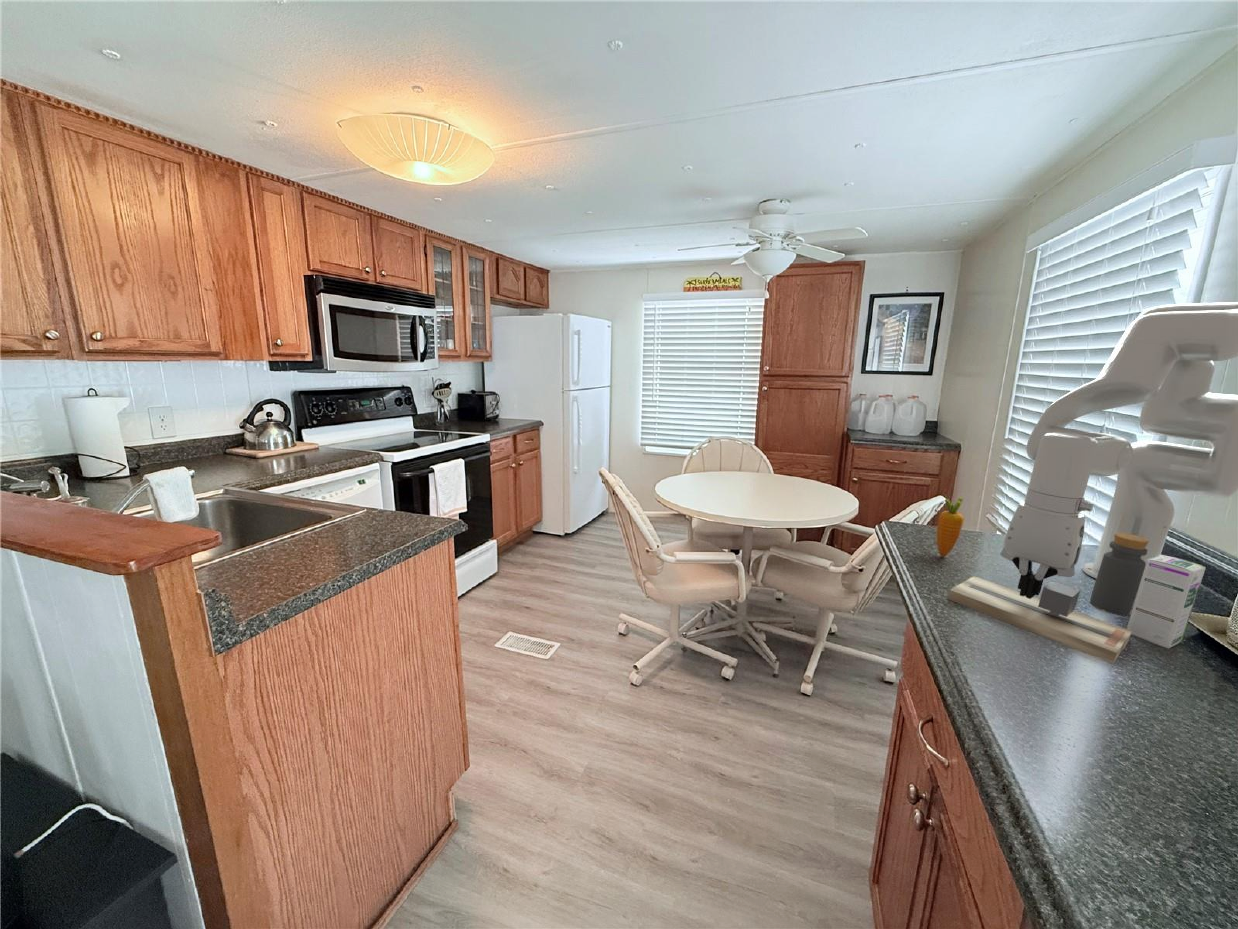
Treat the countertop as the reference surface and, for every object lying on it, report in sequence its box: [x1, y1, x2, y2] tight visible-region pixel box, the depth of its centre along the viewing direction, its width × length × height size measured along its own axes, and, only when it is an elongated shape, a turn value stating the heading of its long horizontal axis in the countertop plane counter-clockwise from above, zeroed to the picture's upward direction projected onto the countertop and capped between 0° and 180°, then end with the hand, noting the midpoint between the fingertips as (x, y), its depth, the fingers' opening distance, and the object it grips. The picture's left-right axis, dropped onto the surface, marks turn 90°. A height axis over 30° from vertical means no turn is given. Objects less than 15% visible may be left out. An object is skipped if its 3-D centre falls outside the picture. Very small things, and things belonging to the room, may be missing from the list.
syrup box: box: [1126, 553, 1206, 649], centre depth 86 cm, size 6×6×14 cm
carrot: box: [936, 497, 965, 558], centre depth 117 cm, size 5×5×15 cm
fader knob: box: [1038, 580, 1081, 617], centre depth 88 cm, size 5×4×5 cm
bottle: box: [1089, 533, 1149, 616], centre depth 96 cm, size 6×6×15 cm
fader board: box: [947, 575, 1132, 665], centre depth 91 cm, size 12×24×2 cm, turn 35°
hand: (1027, 595), depth 92 cm, fingers closed
